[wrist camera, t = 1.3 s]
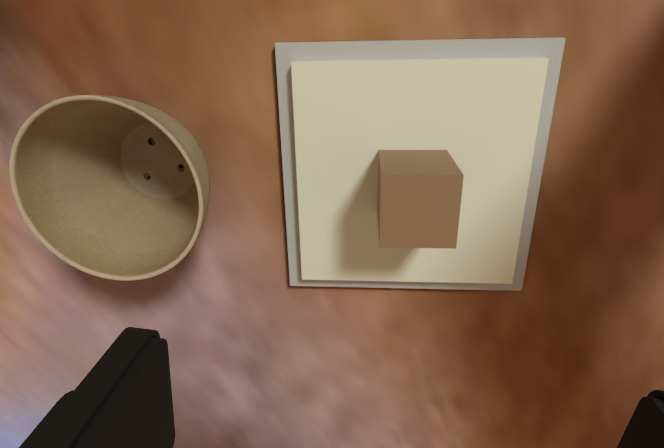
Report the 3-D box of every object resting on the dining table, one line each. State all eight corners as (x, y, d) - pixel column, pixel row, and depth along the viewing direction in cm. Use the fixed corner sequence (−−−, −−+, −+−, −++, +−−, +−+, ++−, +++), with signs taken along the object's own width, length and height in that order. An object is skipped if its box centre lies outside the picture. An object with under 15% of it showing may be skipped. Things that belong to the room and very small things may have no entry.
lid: (543, 57, 25) (591, 65, 20) (508, 277, 30) (539, 330, 25) (293, 61, 26) (274, 69, 21) (303, 273, 31) (290, 323, 26)
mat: (561, 37, 25) (565, 37, 24) (519, 286, 31) (521, 290, 31) (276, 42, 26) (274, 42, 26) (291, 281, 32) (290, 285, 32)
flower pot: (239, 235, 31) (205, 289, 25) (99, 222, 32) (29, 272, 25) (237, 87, 27) (197, 104, 21) (77, 73, 28) (-13, 87, 21)
